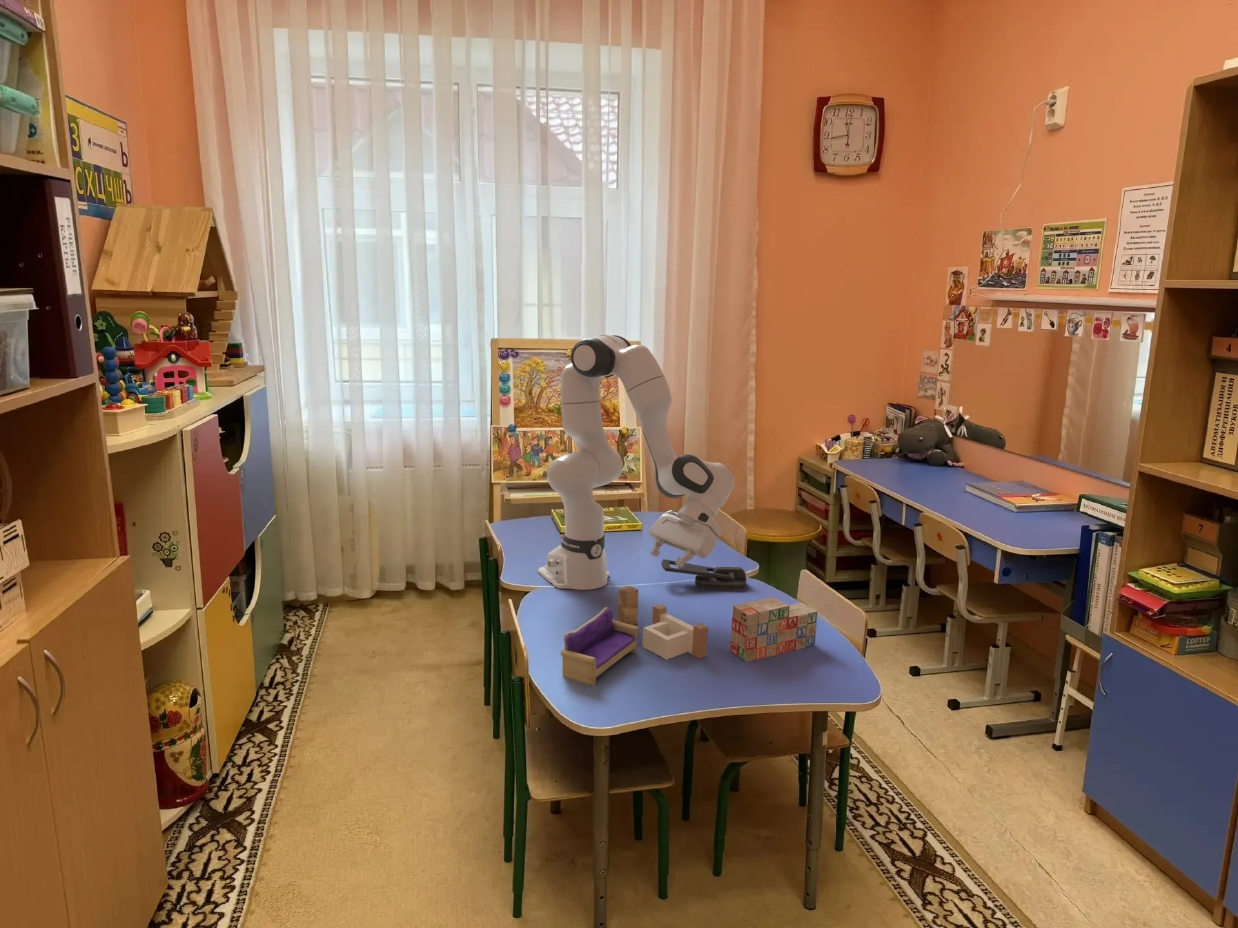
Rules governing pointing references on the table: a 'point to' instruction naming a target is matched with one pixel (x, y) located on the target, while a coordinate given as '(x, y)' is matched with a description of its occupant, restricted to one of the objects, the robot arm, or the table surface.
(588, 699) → the table surface
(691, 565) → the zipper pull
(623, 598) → the wooden block
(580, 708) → the table surface
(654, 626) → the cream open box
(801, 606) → the stack of blocks
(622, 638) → the toy sofa
